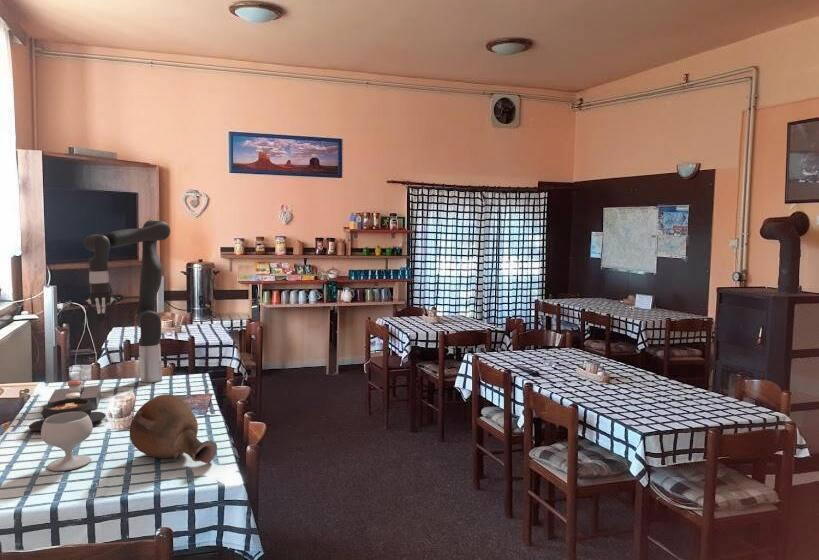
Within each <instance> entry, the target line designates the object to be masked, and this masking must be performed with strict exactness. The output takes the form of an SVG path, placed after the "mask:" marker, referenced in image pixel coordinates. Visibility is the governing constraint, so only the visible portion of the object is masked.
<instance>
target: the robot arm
mask: <svg viewBox="0 0 819 560" xmlns="http://www.w3.org/2000/svg"><path fill="white" fill-rule="evenodd" d="M170 235H171V227H170V225H169V224H168V222H165V221H162V220H153V219H152V220H151V219H150V220H146V221H145V222H144V224H143V226H142V227H138V228H126V229H120V230H115V231H111V232H109V231H108V232H106V233H104V232H103V233H95V234H91V235H88V236H86V237H85V238H84V240H83V245H84V247H85V249H86V250H88V251H90V252H94V255H93V257H91V258H89V260H88V264H89V265H88V267H89V276H88V277H89V278H88V279H89V291H90V292H89V293H90V295H89V297H88V299H87V300H85V301H84V302H83V303H84V305H85V306H86V307H88V309H89V310H90V311H91V312H93V313H95V314H97V319H98V321H99V322H100V323H104V322H105V321H106V319H107V318H106V315H107V314H106V313H108V312H110V310H111V309H112V308H113V307H114V306H115V304H116V303H117V301H118V300H117V299H116V298H114V297H113V296H112V294H111V289H110V275H109V274H110V273H109V265H108V260H109V255H110V249H111V248H113V249H115V248H120V247H125V246H129V245H133V244H137V243H142V244H141V245H142V248H141V249H142V253H141V266H140V267H141V268H140V276H139V279H140V280H139V294H138V295H139V296H138V297H139V298H138V304H137V310H136V313H135V323H136V325H137V327H138V328H140V337H139V339H138V351H139V353H138V355H139V368H140V369H139V370H140V371H139V372H140V382H141V383H145V384H146V383H155V382H156V383H157V382H160V381H163V371H162V369H163V368H162V357H161V355H162V353H161V338H162V320H161V316H160V315H159V313H158V312H156V311H155V309H156V308H155V306H156V304H155V303H156V298H157V296H158V293H159V289H160V287H161V284H162V277H163V267H162V263H161V260H160V259H159V256H158V252H157V245H158V244H157V243H158V242H159V241H164V240H166V239H168V238H169V236H170ZM157 241H158V242H157ZM109 301H110V304H109V305H108V307H107V308H106V305H107V304H108V303H109ZM92 304H93V305H95V306H96V308H95V307H94V306H93V305H92Z"/></svg>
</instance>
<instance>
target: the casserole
mask: <svg viewBox="0 0 819 560" xmlns="http://www.w3.org/2000/svg"><path fill="white" fill-rule="evenodd" d="M92 408H93V405H92V404H91V402H90V400H88V399H83V398H73V399H64V400H59V401H55V402H52V403H49V404H48V403H47V404H45V405H44V406H43V408H42V411H41V412H40V415H41V416H43V419H39V420H36V421H33V422H32V423H31V424H29V426H28V428H29V430H31V431H41V429H42V425H43V423H44V421H45V419H46V418H48V417H50V416H52V415H56V414H60V413H65V412H85V413H87V414H88V416H89V417H90V419H91V422H92V424H93V423H96V422H100V421H102V420H104V419H105V418H106V416H107V415H106V413H105V412H102V411H92V410H91V409H92Z"/></svg>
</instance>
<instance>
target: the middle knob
mask: <svg viewBox="0 0 819 560" xmlns="http://www.w3.org/2000/svg"><path fill="white" fill-rule="evenodd" d="M82 383H83V382H82V380H81V379H72V380H68V381H67V386H68V388H69V391H70V393H75V392H78V393H80V394H81V388H80V384H82Z"/></svg>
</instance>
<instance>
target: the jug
mask: <svg viewBox="0 0 819 560" xmlns="http://www.w3.org/2000/svg"><path fill="white" fill-rule="evenodd" d="M198 431H199V424H198V421H197V417H196V416H195V414H194V412H193V411H192V409H191V408H190V406H189V405H187V403H186V402H185V401H184V400H182V399H181V398H180V397H178V396H176V395H174V394H171V393H170V394H169V393H168V394H167V393H165V394H160V395H157V396H155V397H153V398H151V399H150V400H148V401H146V402H145V403H143V404H142V405H141V407H140V408H139V409H138V410H137V411H136V412H135V414H134V416H133V418H132V419H131V423H130V426H129V439H130V441H131V443H132V445H133V446H134V448H135V449H137V450H138V451H139V452H141V453H143V454H144V455H146V456H149V457H153V458H158V459H159V458H160V459H169V458H170V459H171V458H173V459H177V458H178V457H179V456H182V455H183V454H186V455H187V456H189V457H190V459H192V461H193V462H195V463H196V462H201V463H204V464H210V463H212V461H213V459H215V456H216V455H217V452H218V445H217V442H216V441H213V440H205V441H204V442H202V441H200V440H199V439H198V438H197V436H198Z"/></svg>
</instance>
